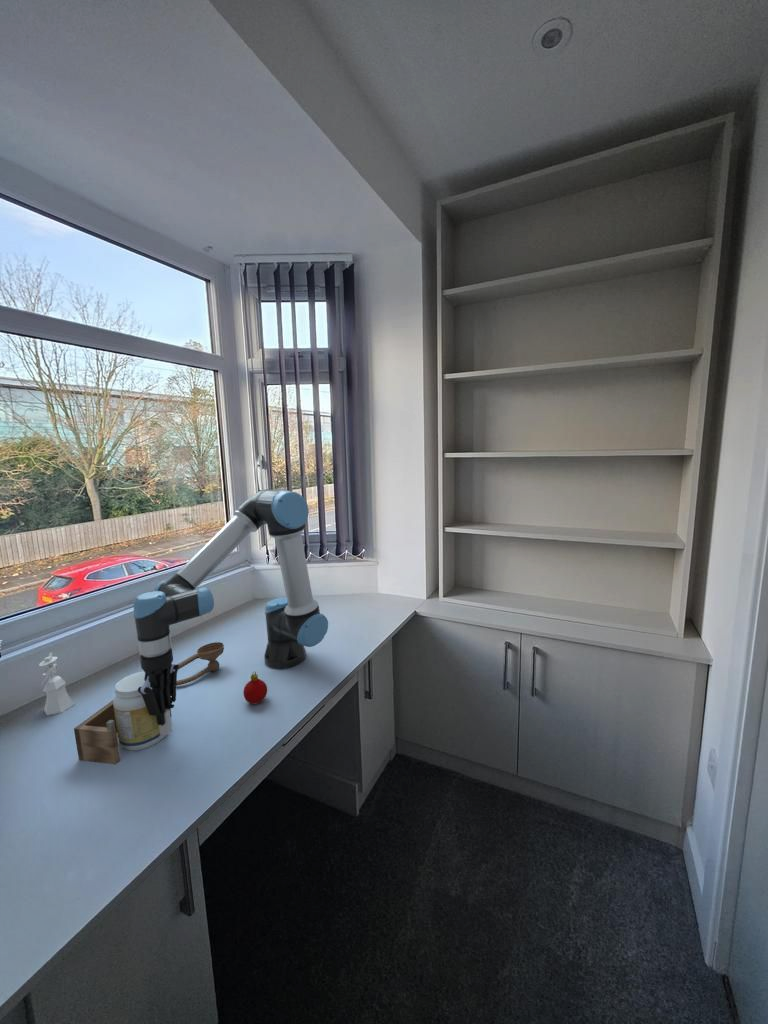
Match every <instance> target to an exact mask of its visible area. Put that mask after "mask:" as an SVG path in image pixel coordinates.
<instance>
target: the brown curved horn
mask: <svg viewBox="0 0 768 1024" xmlns="http://www.w3.org/2000/svg"><path fill="white" fill-rule="evenodd" d="M224 651H225V644H224V643H222V642H220V641H219V642H218V641H216V642H215V641H214V642H210V643H206V644H205V645H202V646H200V647H199V648H198V649H197V650H196V653H195V654H193V655H190V656H189V657H187V658H186V659H184V660H183V661H181V662H179V663H177V664H176V665H179V667H178V670H179V669H181V668H182V667H184V666H185V665H187V664H189V663H190V662H193V660H196V659H198V658H199V659H200V660H203V661H208V663H207V667H205V668H203V669H202V670H200V671H199V672H198V673H196V674H194V675H191V676H189V677H186V678H184V679H183V678H182V679H179V680H178V679H177V683H176V687H177V686H182V685H185V684H188V683H191V682H193V681H196V680H198V679H200V678H201V677H203V676H204V675H205V674H208V673H209V672H216V671H218V670H219V668H220V663H219V661H218V660H217V659H218V657H219V656H221V655H222V654H223V653H224Z"/></svg>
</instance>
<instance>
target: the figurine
mask: <svg viewBox="0 0 768 1024" xmlns="http://www.w3.org/2000/svg"><path fill="white" fill-rule="evenodd" d="M53 654H54V652H48V655H47V656H46V657H44V659H43V660H42V661H41V662H40V663H39V664H38V665H39V667H43V666H44V667H46V668H45V670H44V673H42V676H45V678H44V679H43V680H42V682H41V686H44V684H45V682H46V684H45V686H44V687H43V689H42V692H43V693H46V694H45V695H46V699H45V705H44V708H43V711H44V713H45V714H46V716H50V715H51V714H52V715H56V714H57V713H58V714H62V713H63V712H65V711H66V710H68V709H69V708H71V707H73V706H75V703H74V701H73V699H72V698H71V697H70V695H69V693H68V692H67V688H66V683H67V682H66V681H65V679H63V678H62V677H61V676H60V675H55V674H56V673H57V670H58V664H57V661H56V660H57V659H58V656H53ZM61 712H62V713H61Z"/></svg>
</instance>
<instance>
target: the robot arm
mask: <svg viewBox="0 0 768 1024" xmlns="http://www.w3.org/2000/svg"><path fill="white" fill-rule="evenodd" d="M309 511H310V510H309V505H308V503H307V501H306V500H305V498H304V497H303V495H301V494H300V493H298V492H296V491H291V490H289V489H272V488H271V489H269V488H267V489H266V488H265V489H262V490H259V491H257V492H255V493H254V494H252V495H251V496H250V497H249V498H247V499H246V500H245V501H244V502H243V503H242V504H241V505H239V506H238V507H237V509H235V511H233V517H232V518H231V519H229V520H228V522H226V523H225V524H224V526H222V528H221V529H220V530H218V532H216V533H215V535H213V536H212V537H211V538H210V539H209V541H207V542H206V543H205V545H204V546H202V547H201V548H200V549H199V550H198V551H197V552H196V553H195V554H194V555H193V556H192V557H191V558H190V559H189V560H188V561H187V562H186V563H185V564H184V565H183V566H182V567H181V568H180V569H179V570H178V571H177V572H176V573H175V574H174V575H173V576H172V577H171V578H169V579H164V580H162V581H160V582H158V583H157V584H156V586H155V587H154V590H153V591H149V592H145V593H142V594H141V593H140V594H139V595H137V596H136V597H135V598H134V600H133V605H132V606H133V617H134V622H135V623H134V624H135V629H136V635H137V642H138V643H137V644H138V651H139V660H140V668H141V669H142V671H144V672H145V677H144V680H145V683H144V685H143V686H142V687H139V688H138V692H139V693H140V694H142V697H143V699H144V702H145V705H146V707H147V710H148V712H149V715H152V716H157V724H158V725H159V729H160V734H166V735H167V736H170V734H171V733H173V724H172V709H174V708H175V704H173V703H175V702H176V700H177V686H176V683H177V681H178V679H177V677H178V671H179V669H178V667H179V665H177V664H176V663H175V664H172V663H173V661H174V655H173V649H172V645H173V644H172V638H171V630H170V626H171V625H175V624H178V623H182V622H186V621H188V620H191V619H194V618H197V617H202V616H204V615H206V614H207V615H208V614H209V613H211V612H212V611H213V609H214V607H215V601H214V595H213V593H212V591H211V590H210V589H209V588H208V587H206V586H204V587H199V586H200V585H202V583H203V582H205V580H206V579H207V578H208V577H209V576H210V575H211V574H212V573H213V572H215V570H216V569H217V568H218V567H219V566H220V565H221V564H222V563H223V562H224V561H225V560H226V559H227V557H228V556H230V554H231V553H232V552H233V551H234V550H235V549H236V548H237V547H238V546H239V545H241V543H242V542H243V541H244V540H245V539H246V538H247V537H248V536H249V535H250V534H251V533H256V532H257V531H258V530H259V529H260V528H261V527H263V526H265V525H267V531H268V534H269V536H270V537H272V538H273V539H274V541H275V547H276V551H277V556H278V561H279V567H280V571H281V572H280V573H281V578H282V582H283V588H284V593H285V596H283V597H282V596H281V597H278V598H274V599H272V600H269V601H268V602H267V603H266V604H265V606H264V607H265V609H264V610H265V611H264V614H265V622H266V623H265V624H266V635H267V644H266V646H265V647H266V648H265V652H264V656H263V659H264V664H265V665H266V667H269V668H272V669H278V670H280V669H289V668H293V667H295V666H299V665H300V664H301V663H302V662H304V660H306V658H307V652H306V647H307V648H312V647H315V646H317V645H318V644H320V643H321V642H322V641H323V640H324V638H325V636H326V635H327V633H328V629H329V622H328V621H329V620H328V618H327V617H326V616H325V615H324V614H323V613H321V612H320V606H319V605H320V604H319V602H318V600H316V599H315V598H314V597H313V592H312V587H311V580H310V576H309V570H308V565H307V559H306V552H305V548H304V542H303V536H302V533H303V532H304V531H305V528H306V526H305V524H306V522H307V521H308V520H307V519H308V518H309V513H310V512H309ZM166 735H165V736H166Z"/></svg>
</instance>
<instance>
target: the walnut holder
mask: <svg viewBox="0 0 768 1024" xmlns="http://www.w3.org/2000/svg"><path fill="white" fill-rule="evenodd" d="M73 732H74V738H75V744H76V745H75V746H76V751H77V755H78V756H77V757H78V761H81V762H90V763H98V764H99V763H100V764H107V765H115V766H117V764H118V763H120V761H121V753H120V748H119V739H118V732H117V726H116V719H115V712H114V706H113V699H112V700H111V701H109V702H108V703H107V704H105V705H104V706H103V707H102V708H101V707H100V709H98V710H97V711H96V712H94V713H93V714H92V715H90V716H89V717H88V718H86V719H85V720H83V721H82V722H81V723H80V724H78V725H77V726H75V727H74V728H73Z"/></svg>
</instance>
